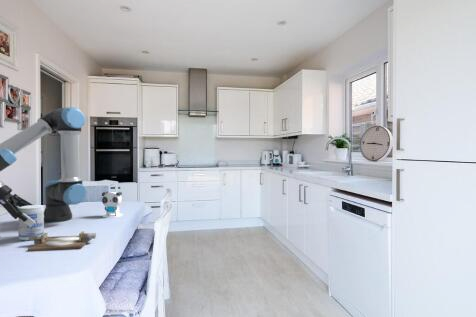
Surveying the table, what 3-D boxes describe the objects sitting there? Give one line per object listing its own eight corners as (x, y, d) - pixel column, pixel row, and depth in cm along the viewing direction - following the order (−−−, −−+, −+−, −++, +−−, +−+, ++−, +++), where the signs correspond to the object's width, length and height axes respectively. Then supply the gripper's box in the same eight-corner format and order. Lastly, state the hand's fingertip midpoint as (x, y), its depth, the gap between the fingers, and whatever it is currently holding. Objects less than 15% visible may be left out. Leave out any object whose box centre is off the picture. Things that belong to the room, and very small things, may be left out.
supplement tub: (28, 242, 126) (28, 209, 125) (13, 239, 129) (12, 207, 128) (48, 235, 135) (48, 205, 135) (34, 233, 138) (34, 203, 138)
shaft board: (40, 239, 130) (39, 229, 130) (100, 236, 134) (100, 227, 134) (19, 251, 114) (19, 240, 114) (88, 248, 119) (88, 237, 118)
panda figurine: (97, 217, 173) (97, 192, 173) (109, 213, 184) (109, 190, 184) (115, 218, 171) (115, 193, 171) (126, 214, 182) (126, 191, 182)
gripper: (2, 192, 138) (39, 221, 143) (-25, 201, 115) (21, 234, 120) (15, 181, 139) (51, 210, 145) (-9, 187, 116) (35, 221, 122)
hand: (37, 221), depth 133 cm, fingers open, 12 cm apart
